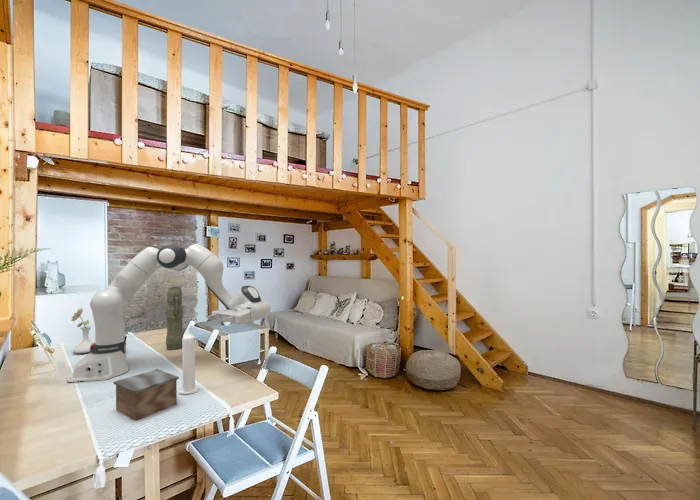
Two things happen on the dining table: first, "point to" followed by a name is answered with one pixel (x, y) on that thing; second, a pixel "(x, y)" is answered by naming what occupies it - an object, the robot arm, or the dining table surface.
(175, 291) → the thermos
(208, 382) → the dining table surface
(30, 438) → the dining table surface
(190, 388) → the candle
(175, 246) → the robot arm
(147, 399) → the walnut pedestal
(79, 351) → the flower in vase
